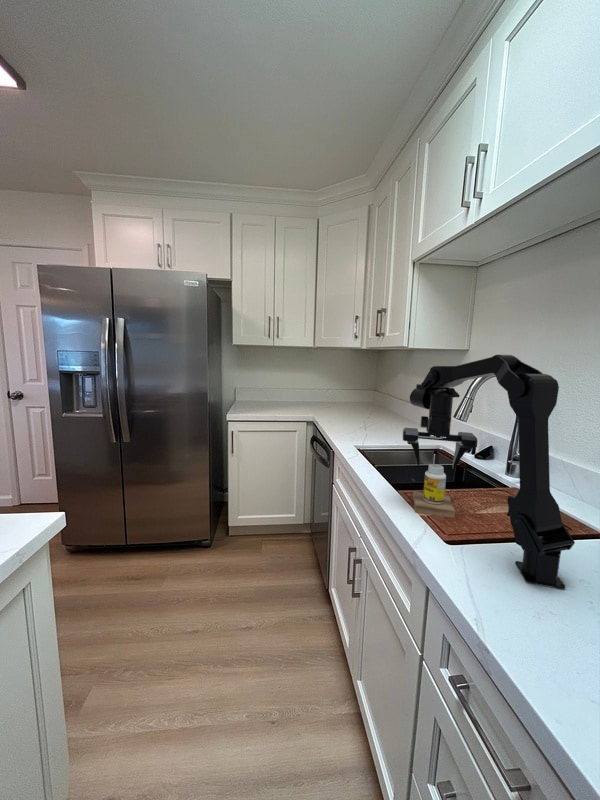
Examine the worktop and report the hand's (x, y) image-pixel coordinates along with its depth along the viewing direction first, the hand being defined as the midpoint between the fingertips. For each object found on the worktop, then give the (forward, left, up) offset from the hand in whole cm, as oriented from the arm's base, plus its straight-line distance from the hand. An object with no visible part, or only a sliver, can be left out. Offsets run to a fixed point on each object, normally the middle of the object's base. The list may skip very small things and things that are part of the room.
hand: (435, 466), depth 94 cm
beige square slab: (0, 0, -12) cm, 12 cm away
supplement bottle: (0, 0, -10) cm, 10 cm away
